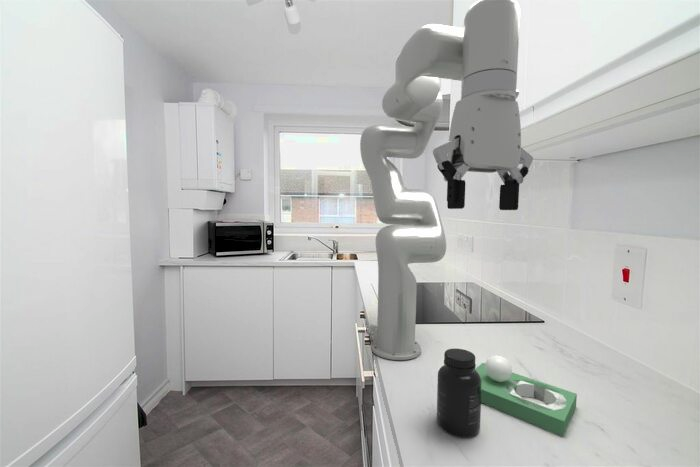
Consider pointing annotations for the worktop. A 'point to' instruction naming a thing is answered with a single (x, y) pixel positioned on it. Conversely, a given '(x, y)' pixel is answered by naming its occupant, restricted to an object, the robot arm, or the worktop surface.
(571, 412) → the green flat slab
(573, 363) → the worktop surface
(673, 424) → the worktop surface
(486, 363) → the ball
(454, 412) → the supplement bottle
